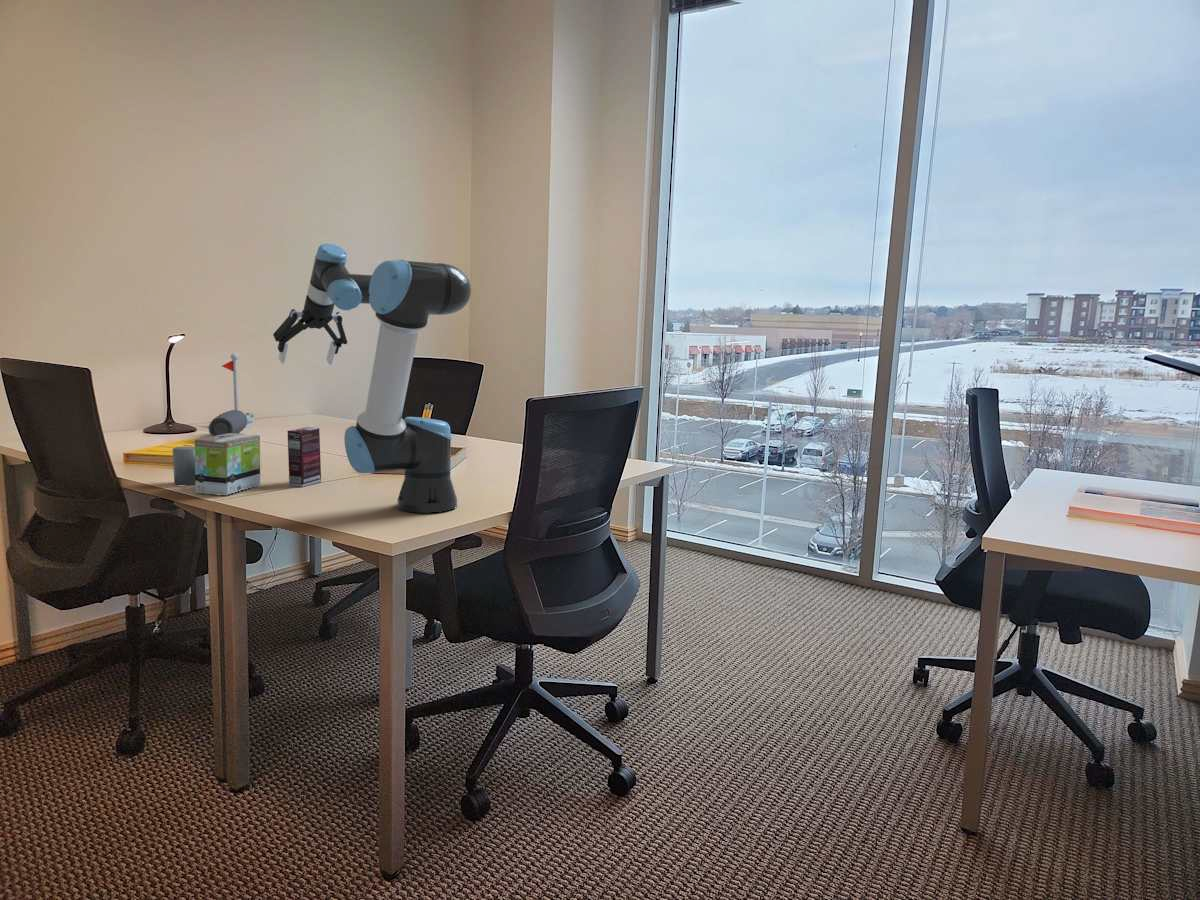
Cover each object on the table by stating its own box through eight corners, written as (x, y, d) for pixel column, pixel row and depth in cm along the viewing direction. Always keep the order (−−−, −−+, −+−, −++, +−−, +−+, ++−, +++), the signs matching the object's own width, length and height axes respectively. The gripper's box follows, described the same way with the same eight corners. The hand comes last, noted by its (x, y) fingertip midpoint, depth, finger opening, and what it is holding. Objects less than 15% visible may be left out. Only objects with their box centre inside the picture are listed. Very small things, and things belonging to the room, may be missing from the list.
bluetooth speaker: (223, 434, 320) (222, 408, 319) (249, 434, 322) (248, 408, 320) (207, 443, 298) (206, 415, 297) (234, 443, 300) (233, 416, 298)
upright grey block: (207, 482, 235) (206, 447, 234) (187, 487, 229) (185, 451, 227) (189, 479, 238) (187, 445, 236) (168, 484, 231) (166, 448, 230)
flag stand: (248, 424, 347) (246, 352, 342) (259, 428, 337) (256, 354, 332) (215, 426, 339) (212, 352, 334) (225, 430, 329) (222, 354, 324)
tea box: (228, 497, 220) (226, 441, 217) (194, 494, 222) (192, 439, 219) (262, 485, 234) (260, 433, 232) (230, 483, 236) (228, 431, 234)
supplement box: (308, 480, 243) (306, 426, 240) (321, 482, 242) (320, 428, 239) (287, 485, 235) (286, 430, 232) (302, 487, 234) (300, 431, 231)
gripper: (360, 294, 237) (343, 354, 248) (270, 286, 222) (257, 351, 233) (369, 309, 233) (351, 370, 244) (277, 302, 217) (263, 368, 229)
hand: (305, 361), depth 239 cm, fingers open, 13 cm apart
